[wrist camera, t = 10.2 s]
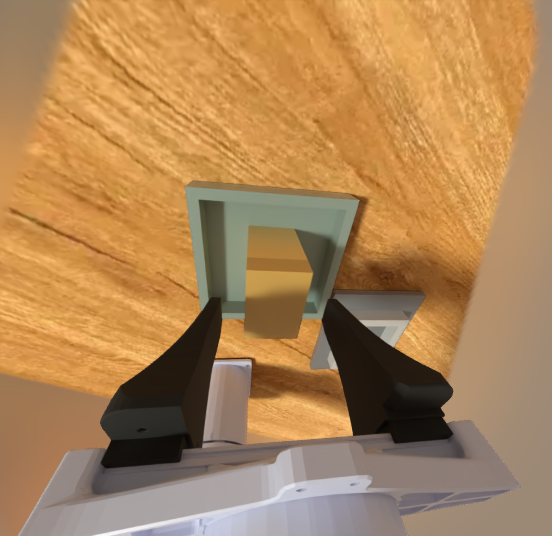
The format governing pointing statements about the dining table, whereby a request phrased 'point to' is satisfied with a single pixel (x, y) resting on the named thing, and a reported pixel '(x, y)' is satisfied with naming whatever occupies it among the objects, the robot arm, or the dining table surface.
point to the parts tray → (270, 213)
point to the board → (371, 317)
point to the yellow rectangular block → (275, 283)
